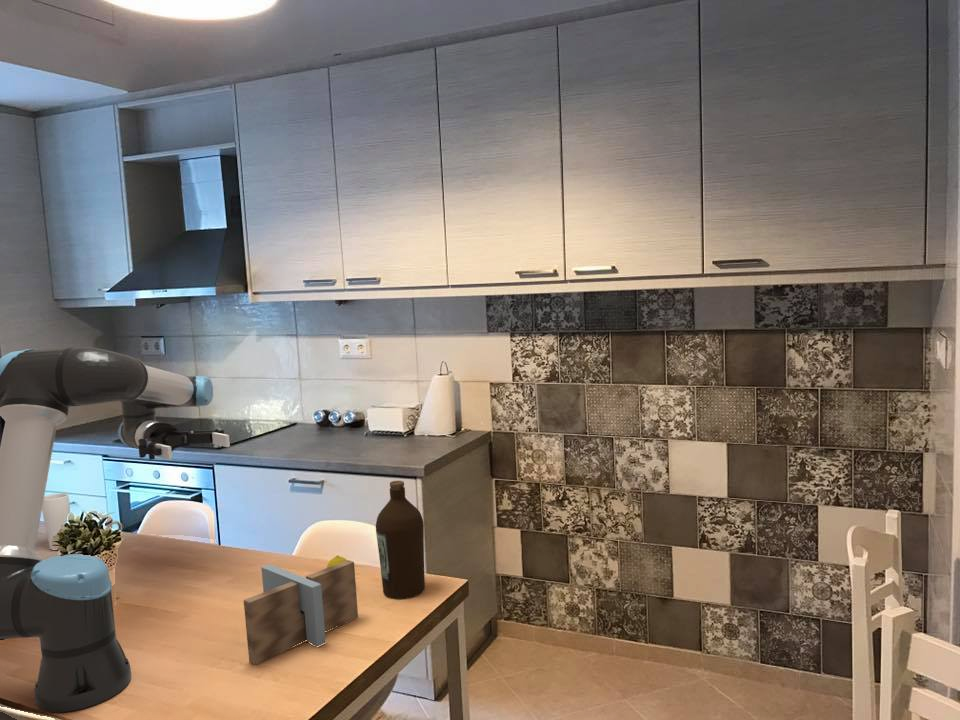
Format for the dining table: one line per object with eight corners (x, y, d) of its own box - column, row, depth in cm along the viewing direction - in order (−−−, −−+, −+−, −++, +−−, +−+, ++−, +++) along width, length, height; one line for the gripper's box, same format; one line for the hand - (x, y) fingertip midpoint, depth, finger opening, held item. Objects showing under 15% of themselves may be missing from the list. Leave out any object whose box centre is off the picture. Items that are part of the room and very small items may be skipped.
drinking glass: (78, 545, 211) (73, 494, 209) (54, 553, 205) (48, 501, 204) (66, 542, 215) (60, 492, 213) (41, 550, 209) (35, 498, 207)
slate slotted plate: (266, 622, 154) (261, 567, 153) (274, 619, 156) (269, 564, 155) (317, 647, 142) (312, 587, 141) (325, 643, 144) (321, 584, 142)
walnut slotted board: (254, 665, 137) (249, 602, 136) (249, 661, 138) (243, 600, 137) (358, 617, 154) (354, 562, 153) (352, 615, 156) (348, 560, 154)
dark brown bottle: (421, 578, 173) (415, 473, 171) (432, 595, 163) (425, 484, 161) (376, 586, 170) (369, 479, 168) (384, 604, 160) (376, 491, 158)
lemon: (340, 596, 166) (338, 561, 165) (322, 591, 169) (319, 557, 168) (357, 587, 170) (354, 553, 170) (339, 583, 173) (336, 549, 173)
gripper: (207, 442, 189) (251, 452, 175) (105, 463, 171) (145, 475, 157) (205, 413, 188) (248, 420, 174) (102, 431, 170) (141, 441, 156)
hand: (199, 446), depth 165 cm, fingers open, 13 cm apart
